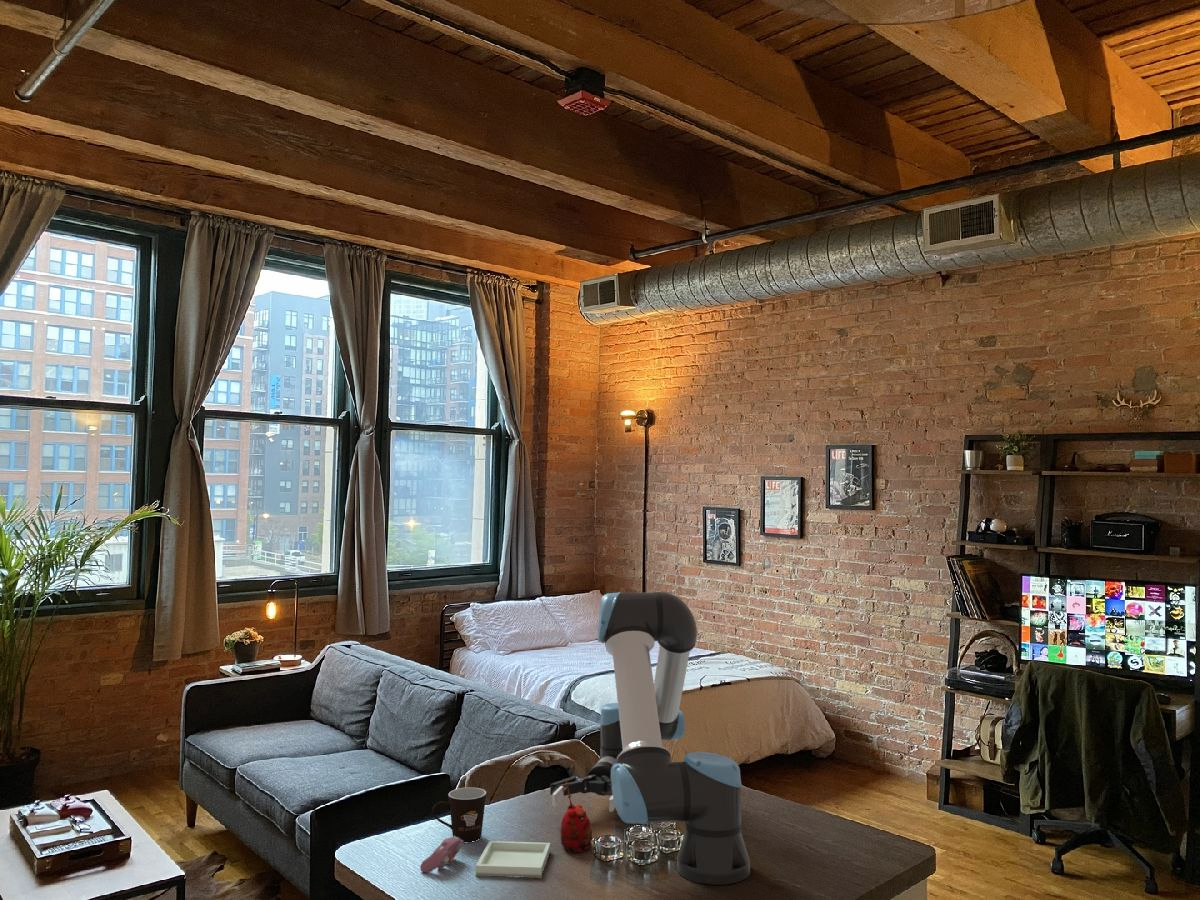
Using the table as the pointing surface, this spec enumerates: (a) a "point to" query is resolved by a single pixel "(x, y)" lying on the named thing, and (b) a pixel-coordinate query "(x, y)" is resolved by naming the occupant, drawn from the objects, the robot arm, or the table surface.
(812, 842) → the table surface
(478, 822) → the coffee mug
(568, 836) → the red bumpy rounded piece
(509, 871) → the sage tray
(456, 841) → the pink animal figurine
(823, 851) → the table surface
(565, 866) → the table surface
